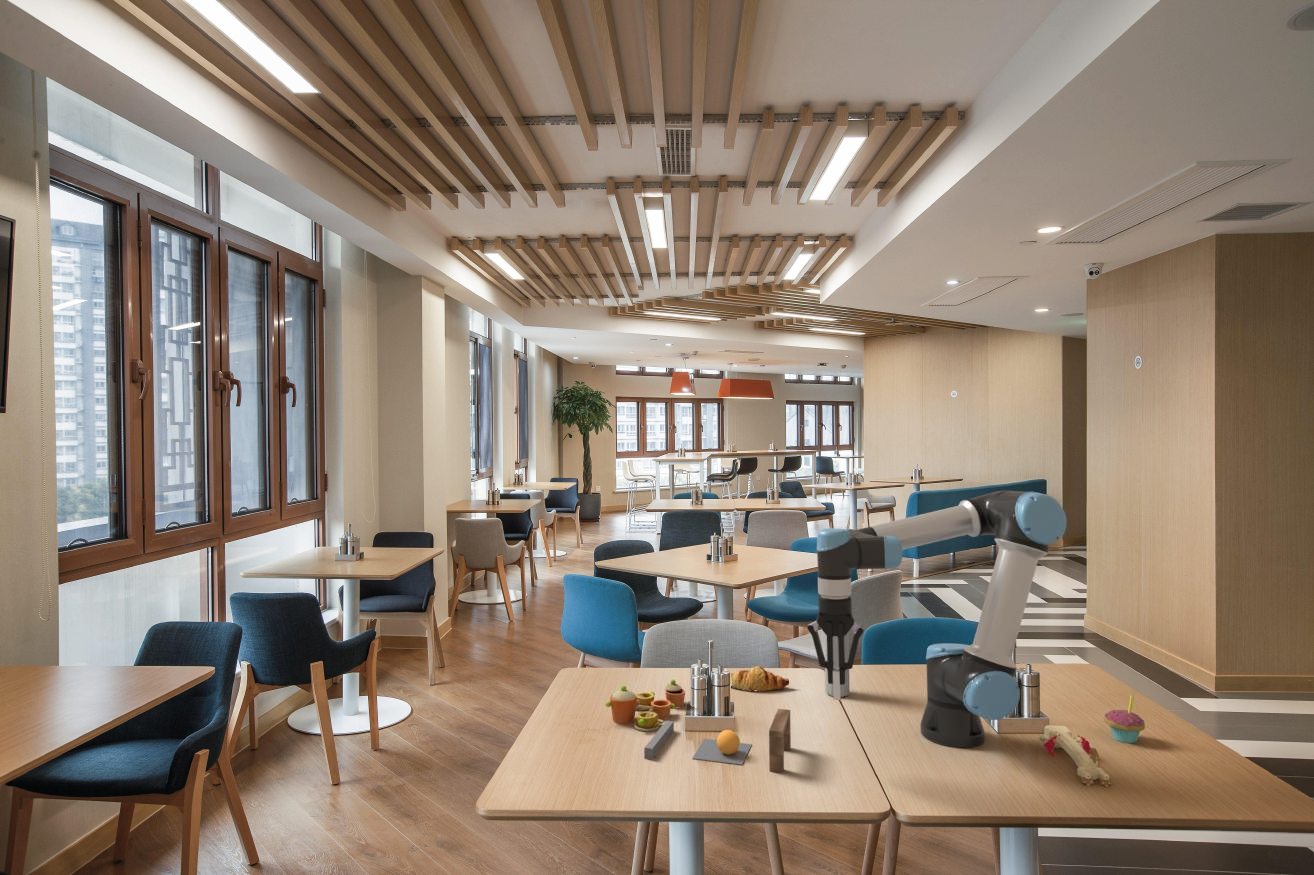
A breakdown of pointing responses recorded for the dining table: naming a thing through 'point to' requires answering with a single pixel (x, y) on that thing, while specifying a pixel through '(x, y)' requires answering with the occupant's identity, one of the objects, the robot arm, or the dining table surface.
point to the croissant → (757, 680)
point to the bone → (1076, 753)
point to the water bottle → (837, 665)
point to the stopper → (658, 740)
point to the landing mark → (712, 753)
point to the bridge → (779, 740)
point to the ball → (728, 742)
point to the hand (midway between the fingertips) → (837, 697)
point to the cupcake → (1125, 724)
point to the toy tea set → (645, 706)
